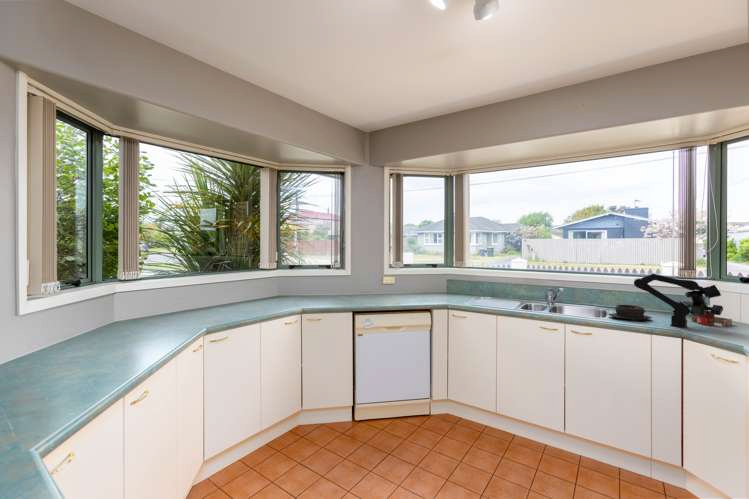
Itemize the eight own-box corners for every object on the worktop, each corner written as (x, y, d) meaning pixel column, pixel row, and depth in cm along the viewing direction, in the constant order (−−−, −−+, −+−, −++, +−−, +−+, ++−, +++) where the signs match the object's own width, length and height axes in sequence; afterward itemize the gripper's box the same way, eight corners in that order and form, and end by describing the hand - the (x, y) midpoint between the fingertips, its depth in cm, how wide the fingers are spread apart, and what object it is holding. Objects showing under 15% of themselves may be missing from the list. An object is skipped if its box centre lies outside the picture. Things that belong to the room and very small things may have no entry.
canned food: (711, 326, 215) (711, 308, 214) (694, 323, 222) (695, 306, 222) (716, 325, 218) (716, 307, 218) (700, 322, 225) (700, 305, 225)
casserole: (640, 316, 243) (640, 304, 243) (659, 322, 225) (659, 309, 225) (602, 315, 246) (602, 303, 246) (617, 321, 228) (617, 308, 228)
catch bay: (723, 326, 214) (723, 321, 214) (691, 321, 228) (691, 316, 228) (731, 324, 219) (731, 319, 219) (700, 319, 233) (700, 314, 233)
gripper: (673, 306, 216) (681, 323, 221) (713, 311, 200) (720, 330, 204) (680, 293, 220) (687, 311, 225) (720, 298, 203) (726, 316, 208)
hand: (704, 317), depth 215 cm, fingers closed
